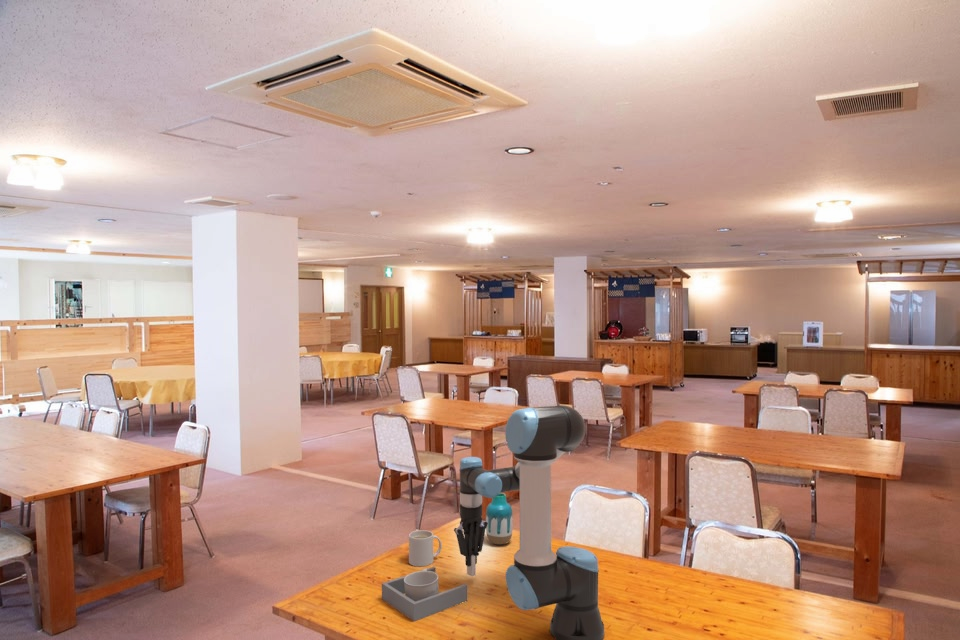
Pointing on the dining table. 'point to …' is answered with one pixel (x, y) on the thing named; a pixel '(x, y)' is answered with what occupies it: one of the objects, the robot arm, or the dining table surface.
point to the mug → (422, 548)
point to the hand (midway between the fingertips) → (471, 574)
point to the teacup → (421, 584)
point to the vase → (499, 520)
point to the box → (426, 606)
